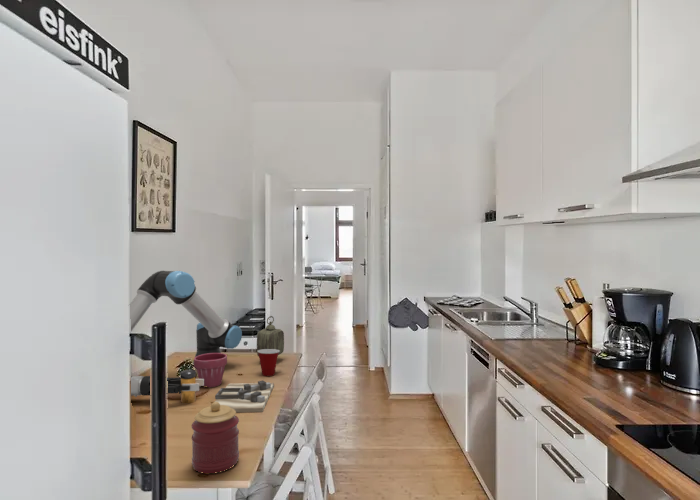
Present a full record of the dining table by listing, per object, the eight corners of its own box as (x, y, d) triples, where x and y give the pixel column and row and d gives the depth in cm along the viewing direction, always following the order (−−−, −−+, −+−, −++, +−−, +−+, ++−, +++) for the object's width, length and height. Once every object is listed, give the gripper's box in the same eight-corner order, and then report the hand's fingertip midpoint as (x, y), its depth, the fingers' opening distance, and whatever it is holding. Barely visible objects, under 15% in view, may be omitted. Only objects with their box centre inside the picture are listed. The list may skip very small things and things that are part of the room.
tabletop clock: (270, 358, 238) (270, 314, 238) (285, 359, 235) (284, 314, 235) (256, 365, 225) (256, 318, 225) (271, 366, 222) (271, 318, 222)
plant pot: (191, 390, 185) (191, 361, 185) (196, 381, 199) (196, 353, 199) (226, 388, 188) (225, 359, 188) (228, 378, 202) (228, 351, 202)
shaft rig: (227, 387, 190) (227, 376, 190) (273, 386, 190) (273, 376, 190) (207, 413, 160) (207, 401, 160) (262, 411, 160) (262, 400, 160)
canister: (213, 480, 113) (212, 414, 113) (181, 467, 120) (181, 405, 120) (248, 459, 124) (248, 399, 124) (218, 448, 131) (218, 391, 131)
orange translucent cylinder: (183, 398, 175) (183, 369, 175) (197, 398, 175) (197, 369, 175) (178, 404, 169) (178, 373, 169) (193, 403, 169) (193, 373, 169)
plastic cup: (284, 372, 211) (284, 348, 211) (271, 379, 201) (271, 353, 201) (266, 370, 215) (266, 346, 215) (252, 376, 206) (252, 351, 205)
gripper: (152, 387, 181) (208, 386, 182) (132, 403, 162) (193, 402, 163) (152, 369, 181) (208, 369, 182) (132, 383, 162) (193, 382, 163)
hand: (201, 384), depth 172 cm, fingers closed on orange translucent cylinder, 5 cm apart
